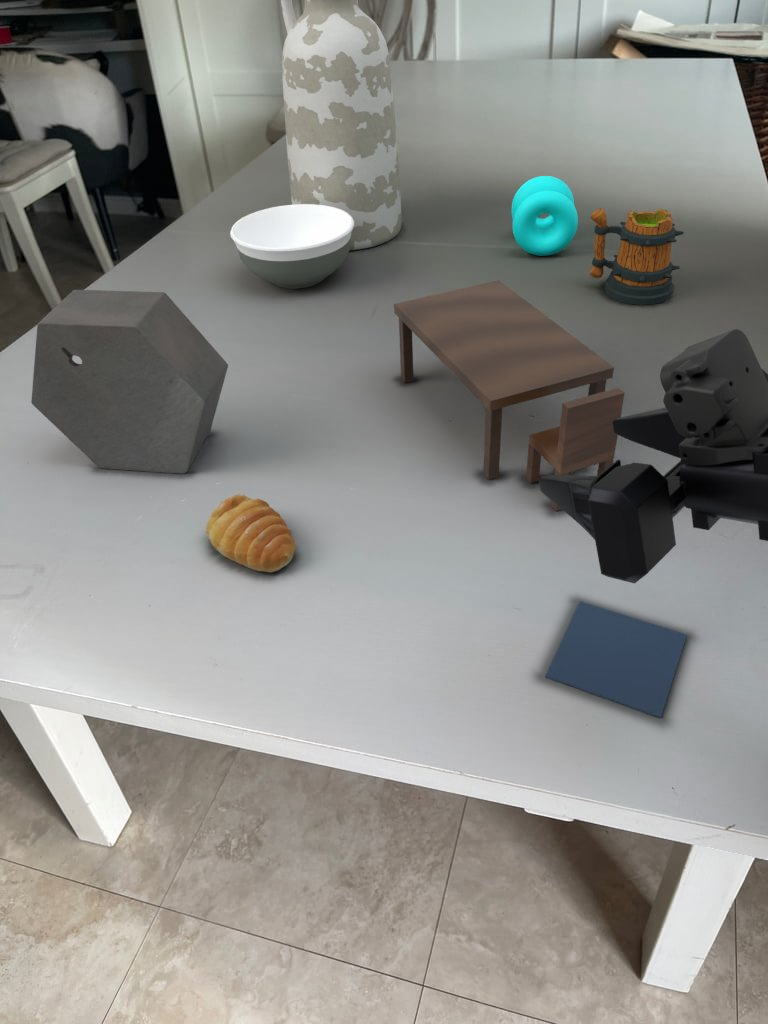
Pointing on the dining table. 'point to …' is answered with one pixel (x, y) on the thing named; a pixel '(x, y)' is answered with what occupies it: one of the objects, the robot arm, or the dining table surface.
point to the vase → (341, 117)
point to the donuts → (548, 231)
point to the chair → (578, 436)
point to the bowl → (294, 243)
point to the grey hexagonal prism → (127, 379)
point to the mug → (637, 257)
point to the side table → (498, 351)
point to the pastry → (251, 534)
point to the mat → (618, 658)
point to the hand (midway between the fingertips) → (579, 453)
